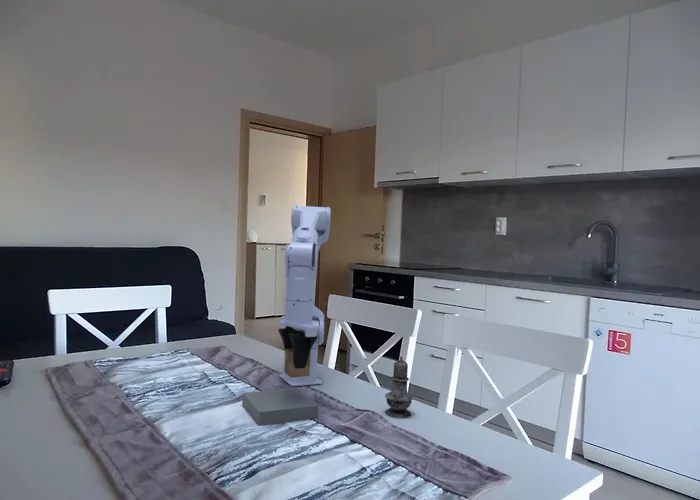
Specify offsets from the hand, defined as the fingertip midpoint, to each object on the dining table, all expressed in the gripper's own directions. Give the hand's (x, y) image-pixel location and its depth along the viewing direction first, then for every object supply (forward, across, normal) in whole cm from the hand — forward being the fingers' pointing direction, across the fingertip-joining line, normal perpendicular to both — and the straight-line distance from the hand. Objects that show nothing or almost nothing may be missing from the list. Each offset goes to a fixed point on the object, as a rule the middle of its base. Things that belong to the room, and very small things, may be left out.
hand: (295, 365), depth 101 cm
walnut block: (+2, 0, 0) cm, 2 cm away
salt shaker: (+9, +10, +20) cm, 24 cm away
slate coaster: (+9, +1, -3) cm, 10 cm away
